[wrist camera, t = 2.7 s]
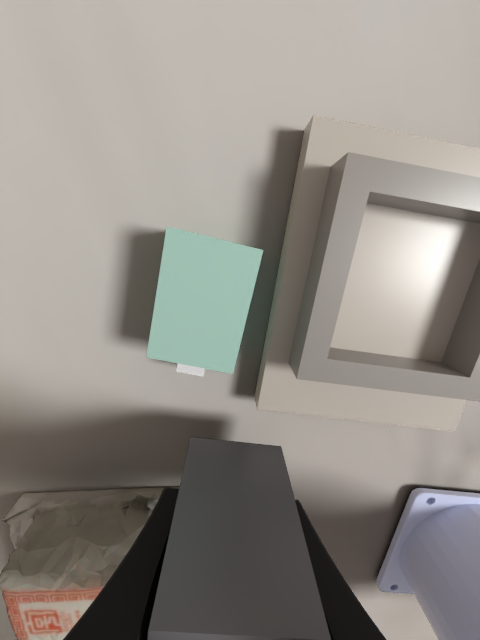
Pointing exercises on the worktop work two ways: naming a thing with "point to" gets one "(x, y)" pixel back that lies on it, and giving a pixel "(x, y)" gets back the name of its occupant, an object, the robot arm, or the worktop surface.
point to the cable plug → (202, 301)
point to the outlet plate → (377, 281)
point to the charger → (236, 552)
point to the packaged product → (67, 554)
